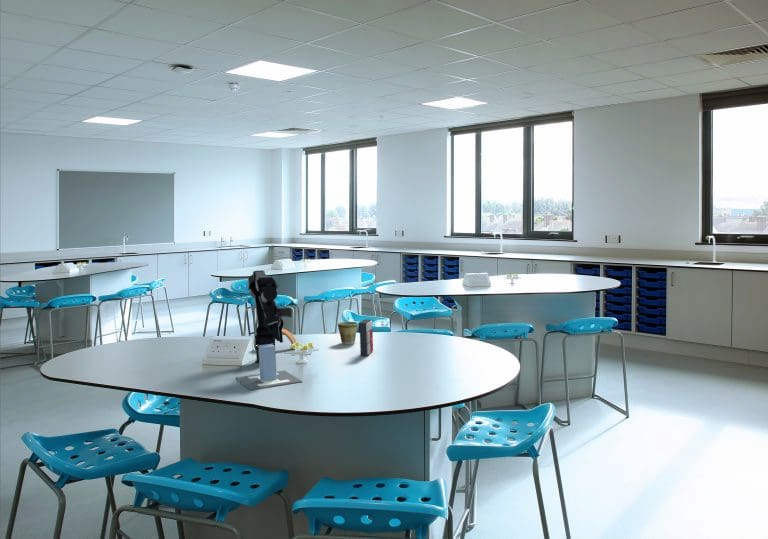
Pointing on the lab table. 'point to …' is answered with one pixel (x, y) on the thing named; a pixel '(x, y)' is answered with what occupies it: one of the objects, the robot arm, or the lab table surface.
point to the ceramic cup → (348, 332)
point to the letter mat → (256, 383)
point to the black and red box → (366, 337)
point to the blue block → (267, 362)
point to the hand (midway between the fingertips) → (280, 341)
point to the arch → (289, 336)
